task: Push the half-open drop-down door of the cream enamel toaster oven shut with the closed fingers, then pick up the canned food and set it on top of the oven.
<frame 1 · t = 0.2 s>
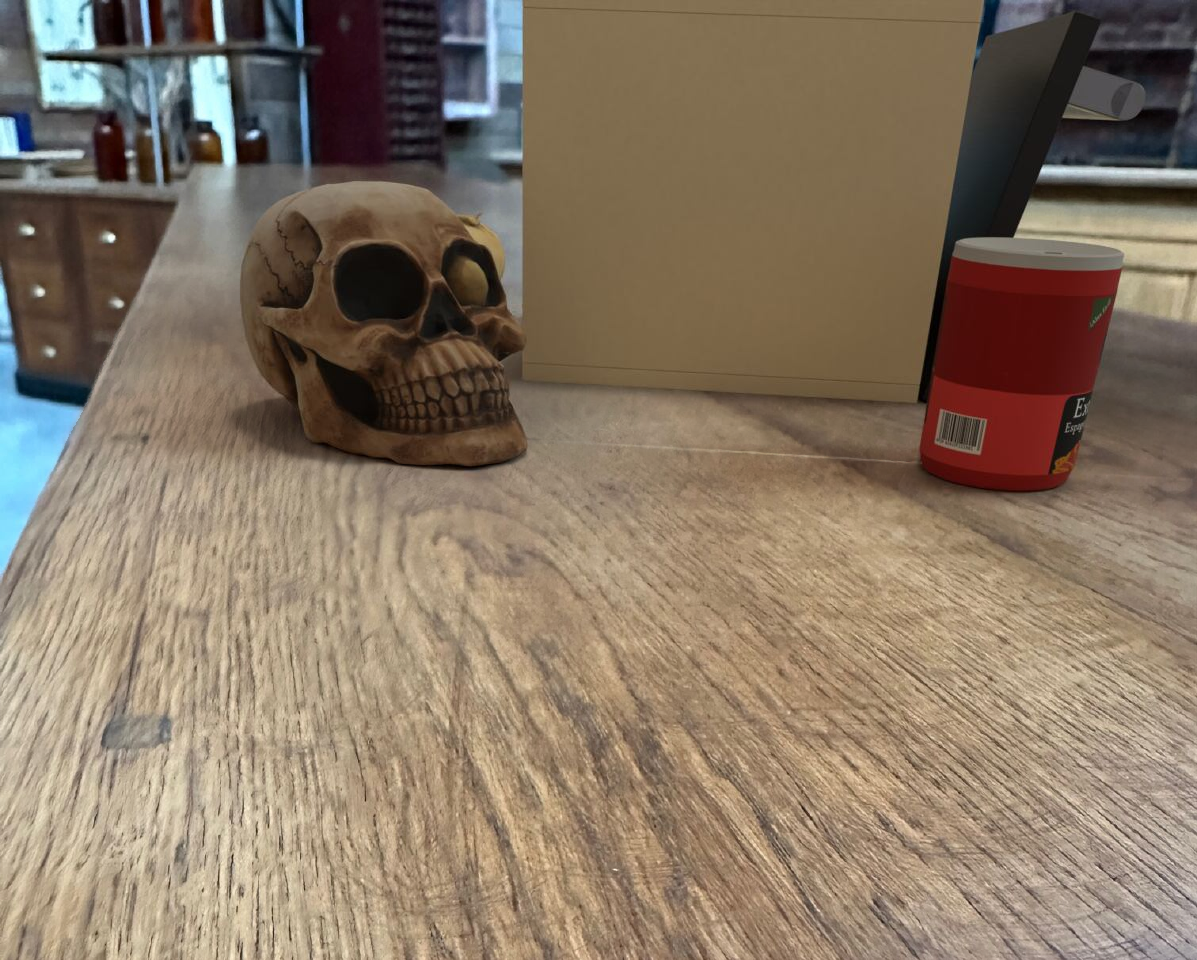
oven door: (1001, 217, 83), point 10 cm above the worktop, hinge at 12.6°
onion: (464, 294, 113), on the worktop
brown skull: (395, 430, 67), on the worktop
canned food: (991, 475, 63), on the worktop
oven: (720, 354, 89), on the worktop
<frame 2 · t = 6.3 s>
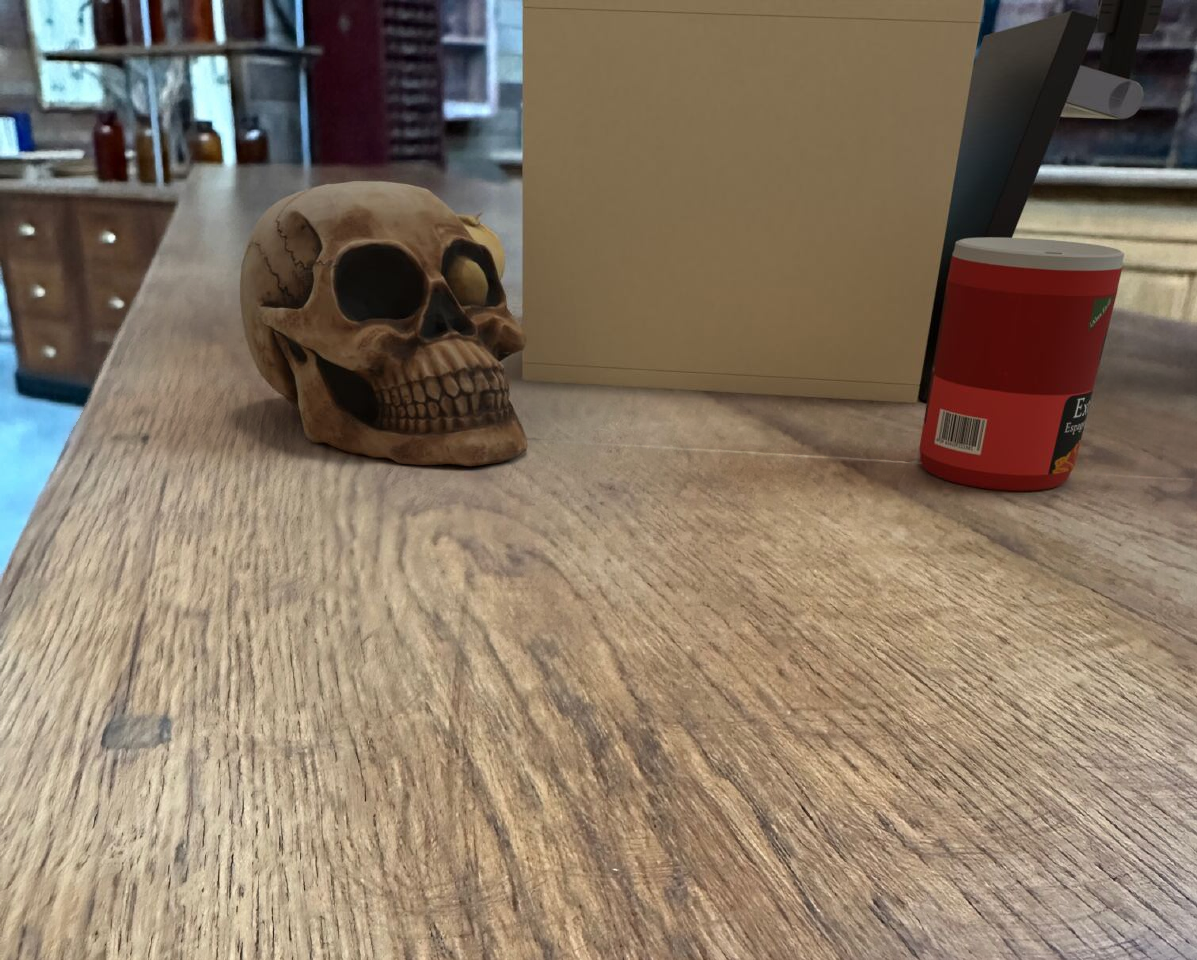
hand: (1109, 93, 79), 18 cm above the worktop, tool pointing down, fingers closed
oven door: (1000, 216, 83), point 10 cm above the worktop, hinge at 12.2°, touching gripper
everything else where it was.
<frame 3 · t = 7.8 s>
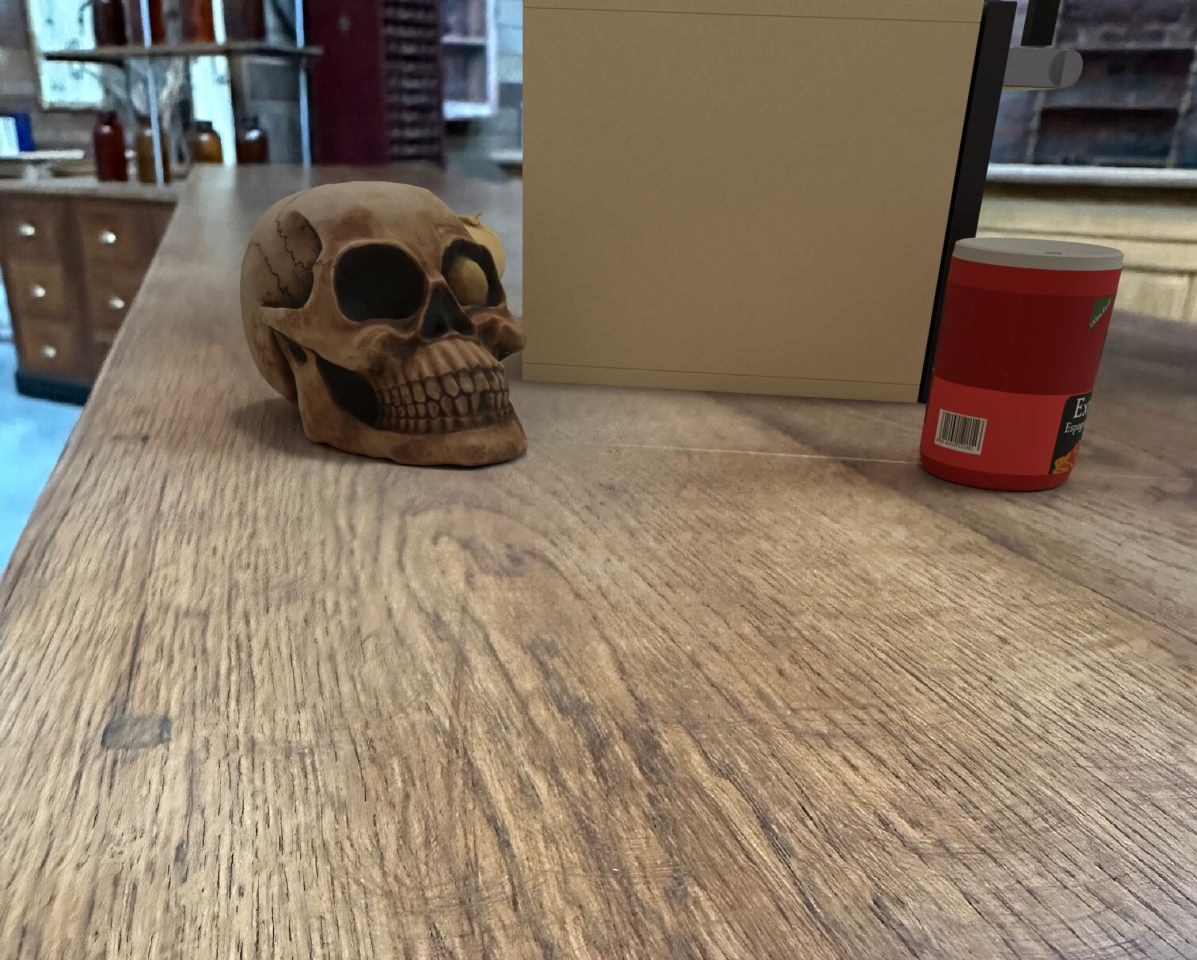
hand: (1035, 45, 78), 20 cm above the worktop, tool pointing down, fingers closed
oven door: (969, 202, 83), point 11 cm above the worktop, hinge at 0.0°
everything else where it was.
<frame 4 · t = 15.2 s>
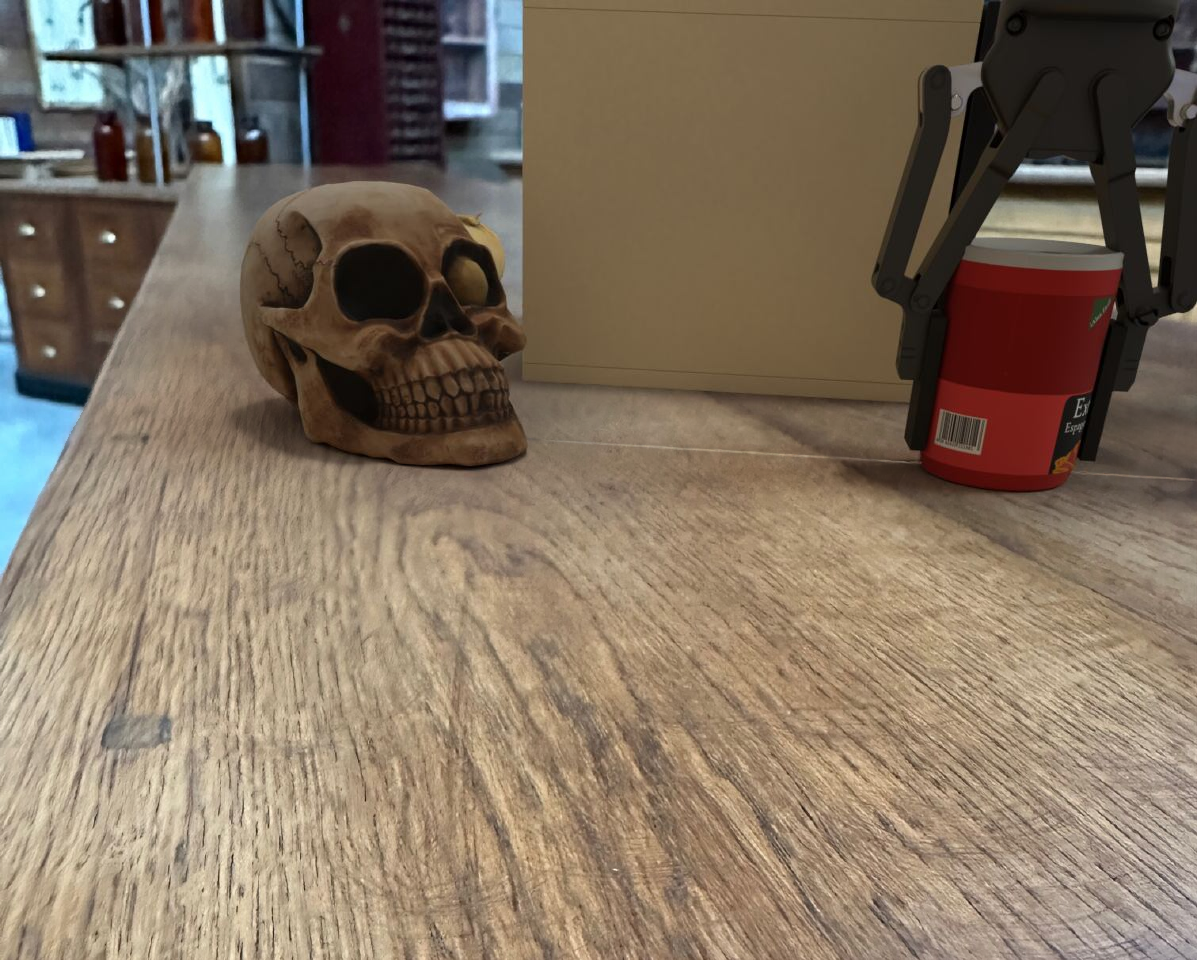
hand: (997, 448, 62), 1 cm above the worktop, tool pointing down, fingers closed on canned food, 8 cm apart
canned food: (991, 475, 63), on the worktop, touching gripper
everything else where it was.
when the fingers open (23 cm above the worktop, at t = 24.1 s): canned food stays where it is, resting on oven.
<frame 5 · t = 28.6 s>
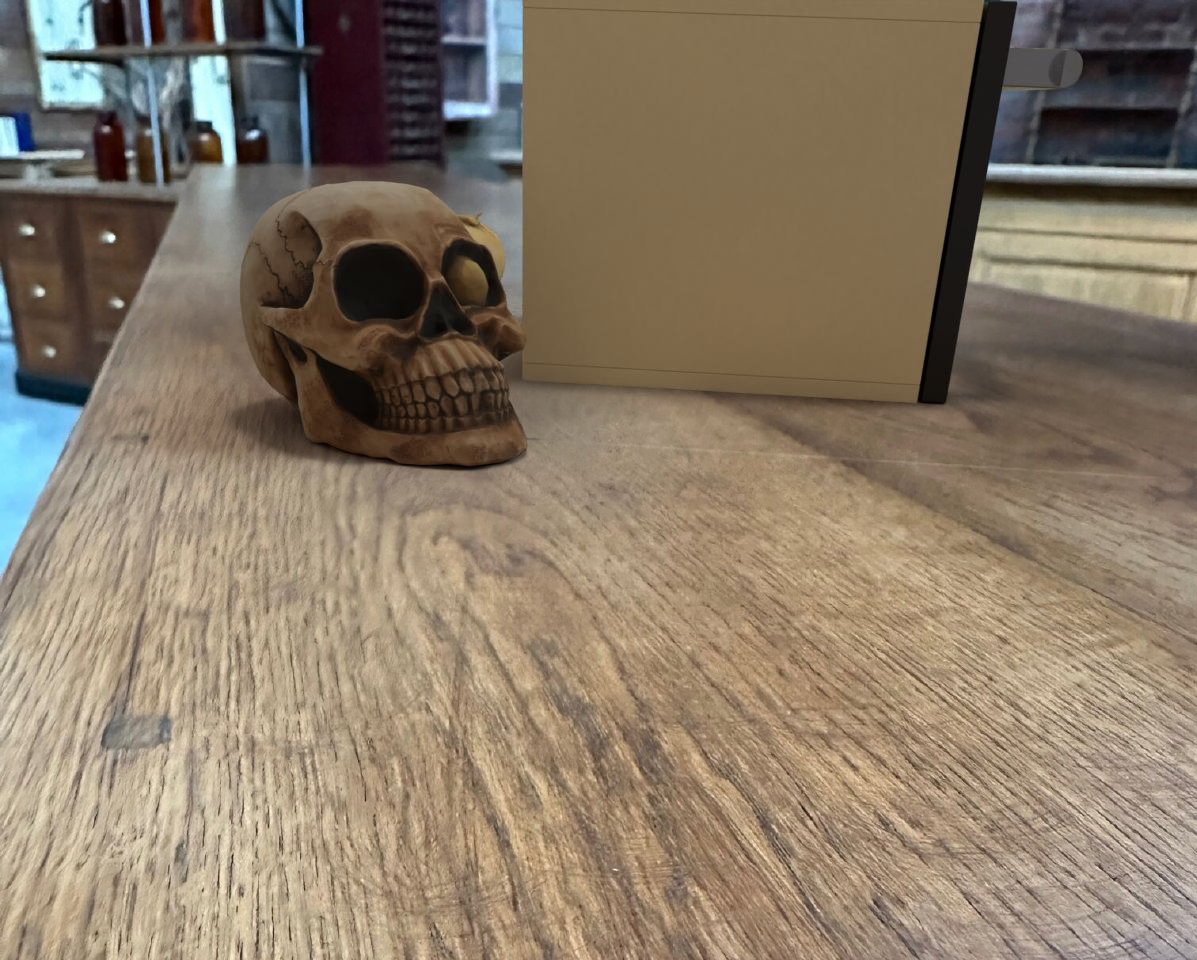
canned food: (748, 10, 78), point 22 cm above the worktop, touching oven
everything else where it was.
at the end: oven door at +0° (first picture: +14°); canned food inside the target area on the oven (0.0 cm from its centre), point 21.8 cm above the oven's base; canned food tilted 0° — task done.
